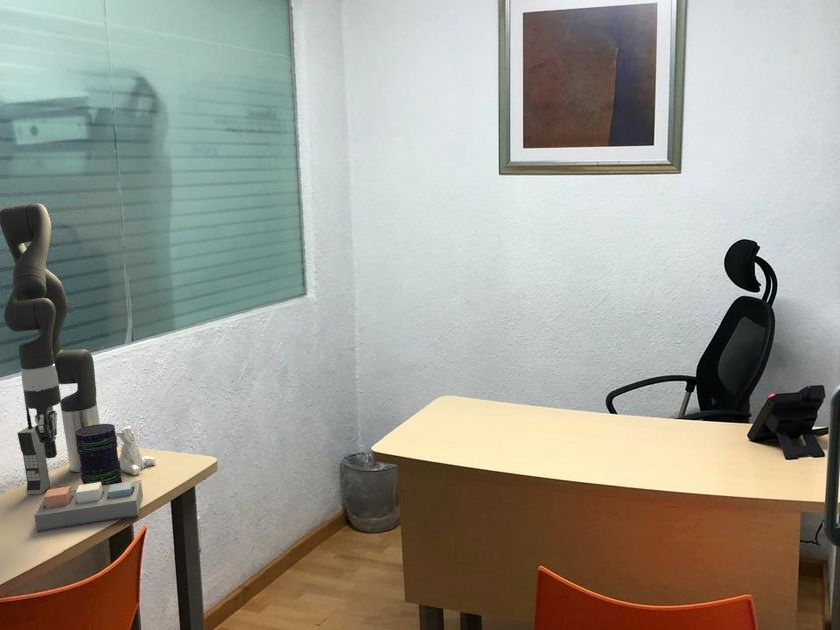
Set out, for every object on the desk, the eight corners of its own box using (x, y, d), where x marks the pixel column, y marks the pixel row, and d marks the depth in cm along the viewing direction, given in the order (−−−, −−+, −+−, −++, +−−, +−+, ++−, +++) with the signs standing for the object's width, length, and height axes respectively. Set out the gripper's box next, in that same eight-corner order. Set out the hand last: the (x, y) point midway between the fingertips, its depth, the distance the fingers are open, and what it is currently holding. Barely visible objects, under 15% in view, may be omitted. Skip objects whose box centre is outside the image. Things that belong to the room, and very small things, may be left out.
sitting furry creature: (136, 476, 224) (130, 433, 222) (109, 474, 227) (103, 432, 225) (157, 463, 233) (152, 422, 231) (131, 462, 236) (125, 421, 234)
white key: (81, 498, 202) (79, 485, 201) (103, 495, 203) (101, 481, 203) (78, 506, 197) (75, 492, 197) (100, 503, 198) (98, 489, 198)
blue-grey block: (112, 498, 204) (110, 484, 203) (134, 495, 205) (132, 481, 204) (110, 506, 199) (108, 492, 198) (132, 502, 200) (130, 488, 200)
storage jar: (106, 475, 227) (98, 422, 224) (130, 480, 222) (123, 425, 219) (74, 488, 218) (66, 433, 216) (99, 493, 213) (91, 437, 211)
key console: (48, 509, 205) (46, 493, 204) (142, 495, 210) (140, 480, 209) (37, 532, 192) (34, 515, 191) (138, 516, 196) (135, 500, 196)
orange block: (50, 503, 201) (47, 489, 200) (72, 500, 202) (70, 486, 201) (46, 511, 196) (43, 497, 195) (68, 508, 197) (66, 493, 196)
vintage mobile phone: (26, 495, 216) (11, 401, 212) (37, 487, 221) (22, 395, 217) (40, 494, 216) (26, 400, 211) (50, 487, 221) (36, 395, 216)
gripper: (29, 380, 199) (40, 451, 202) (16, 393, 187) (28, 468, 189) (63, 377, 201) (73, 446, 204) (53, 389, 188) (63, 463, 191)
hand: (51, 457), depth 197 cm, fingers closed
